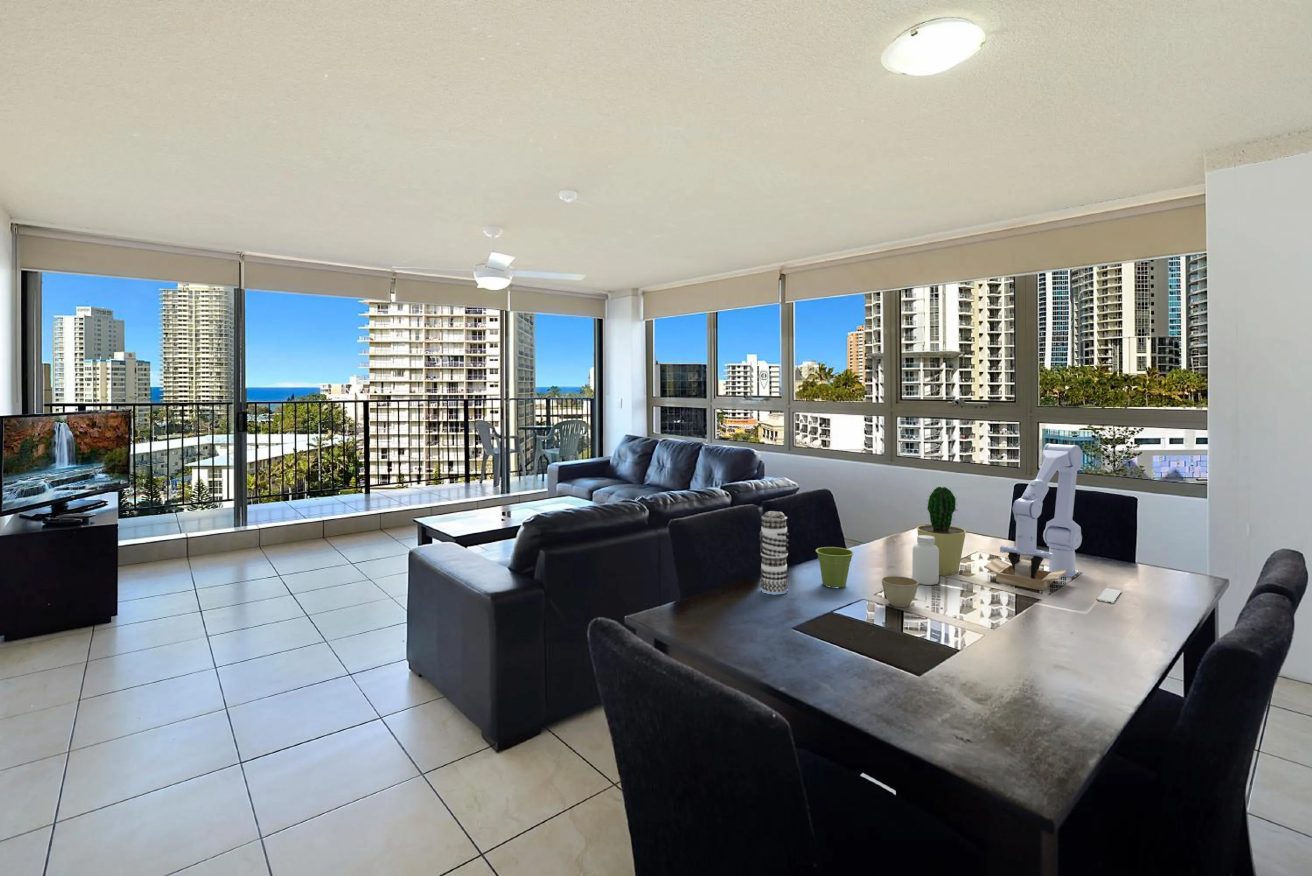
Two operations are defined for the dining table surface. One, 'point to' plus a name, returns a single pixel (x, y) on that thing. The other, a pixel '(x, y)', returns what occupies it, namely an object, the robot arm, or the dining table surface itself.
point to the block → (1023, 569)
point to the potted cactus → (944, 530)
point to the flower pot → (899, 590)
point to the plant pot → (834, 565)
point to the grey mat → (1109, 595)
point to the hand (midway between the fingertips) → (1025, 577)
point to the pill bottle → (925, 561)
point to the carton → (1008, 577)
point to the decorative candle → (774, 552)
